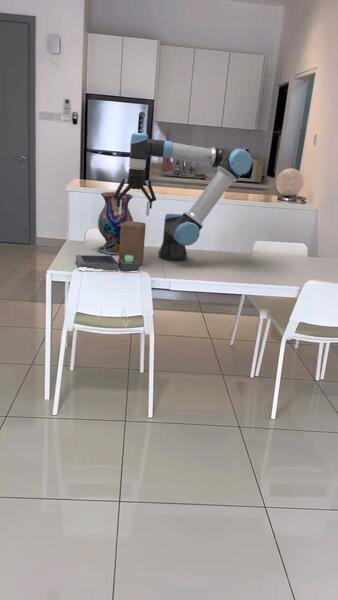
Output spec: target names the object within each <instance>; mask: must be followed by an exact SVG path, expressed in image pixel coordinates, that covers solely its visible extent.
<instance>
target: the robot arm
mask: <svg viewBox="0 0 338 600" xmlns="http://www.w3.org/2000/svg"><path fill="white" fill-rule="evenodd" d="M129 148H130V150H129V163H128V164H129V165H128V167H129V169H128V175H127V178H123V177H122V178H120V183H119V185H118V186H117V189H116V190H115V191H114V192H115V194H114V196H113V197H114V198H115V199H117V207H119V209H118V214H119V215H121V208H122V200H120V199H121V198H122V197H123V196H124V195H125V194H128V192H129V191H130V190H137V191H139V190H141V192H142V193H143V194H144V196H145V197H146V199H147V201H146V211H145V215H146V216H147V217H150V210H152V207H153V202H156V201H157V197H156V194H155V193H154V189H153V186H152V181H151V180H150V179H148V180H145V179H146V178H145V177H146V170H145V169H146V168H147V167H146V165H147V162H146V161H147V157H154V158H155V157H156V158H163V159H164V158H167V159H174V160H178V161H179V160H180V161H186V162H192V163H197V164H204V165H207V166H208V167H209V168H213V169H214V168H215V169H217V172H216V173H215V175H214V176H213V178H212V179H211V180H210V182H209V183H208V184H207V185H206V187H205V189H203V191H202V193H200V195H199V197H198V198H197V200H196V201H195V202H194V203H193V205H192V206H191V208H190V209H189V210H188V211H186V212H183V213H182V214H180V213H167V214H165V216H164V217H165V218H164V224H163V235H162V237H163V238H162V239H163V240H162V243H161V246H160V248H159V250H158V258H160V259H163V260H166V261H171V262H172V261H173V262H174V261H175V262H180V261H185V260H187V258H188V252H187V249H186V247H187V246H191V245H194V244H195V243H196V242H197V241H198V239H199V238H200V236H201V234H200V232H201V230H202V228H203V227H204V225H203V222H204V220H205V219H206V218H207V216H208V215H209V214H210V212H211V211H212V209H214V207H215V206H216V204H217V203H218V202H219V201H220V199H221V197H222V196H223V195H224V194H225V192H226V191H227V189H228V188H229V187H230V186H231V184H232V183H235V182H237V181H238V180H239V178H240V177H241V176H242V175H246V174H247V173H248V172H249V171H250V170H251V167H252V156H251V154H250V153H249V152H248V151H247V150H245V149H242V148H240V147H239V148H234V147H215V146H213V147H210V148H207V147H201V146H195V145H190V144H184V143H178V142H172V141H170V140H166V139H164V140H163V139H154V138H149V135H148V134H147V133H139V132H133V133H132V134H131V137H130V146H129ZM126 183H127V185H126V187H125V188H124V186H125V184H126ZM145 185H147V189H148V191H149V193H150V194H149V193H148V191H147V190H146V187H144V186H145ZM123 188H124V189H123ZM122 189H123V190H122ZM119 193H121V194H120V195H119ZM118 195H119V196H118ZM117 196H118V197H117Z"/></svg>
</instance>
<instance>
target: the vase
mask: <svg viewBox="0 0 338 600" xmlns="http://www.w3.org/2000/svg"><path fill="white" fill-rule="evenodd" d="M115 192H116V191H112V192H111V191H104V192H101V193H100V195H101V196H102V198H103V200H104V206H103V208H102V210H101V211H100V213H99V214H98V219H97V226H98V231H99V233H100V235H101V236H102V237H103V238H104V240H105V243H104V244H103V245H102V246H100V247H98V251H99V252H101V253H103V254H110V255H119V249H120V233H121V224H122V223H124V222H126V221H134V220H133V219H134V218H133V217H132V214H131V212H130V209H129V203H130V200H132V199H133V198H134V195H133V194H130V193H126V194H125V195H124V196H123V197H122V198H121V199H120V200H122V208H121V215H119V214H118V209H119V207H117V199H115V198H114V197H113V196H114V194H115ZM121 193H122V192H120V193H119V195H120V194H121ZM119 195H118V196H119ZM118 196H117V197H118Z"/></svg>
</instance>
